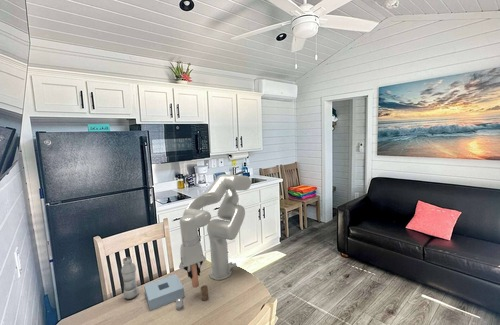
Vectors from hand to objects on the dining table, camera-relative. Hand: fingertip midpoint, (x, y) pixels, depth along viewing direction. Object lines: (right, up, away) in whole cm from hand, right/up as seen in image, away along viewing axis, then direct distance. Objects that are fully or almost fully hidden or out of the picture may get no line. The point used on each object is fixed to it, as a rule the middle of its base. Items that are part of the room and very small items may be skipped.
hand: (194, 275), depth 120 cm
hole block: (-16, -11, +3) cm, 19 cm away
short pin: (-5, -12, -6) cm, 15 cm away
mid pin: (+5, -11, -1) cm, 12 cm away
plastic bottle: (-32, -12, +3) cm, 35 cm away
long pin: (0, -5, +1) cm, 5 cm away
